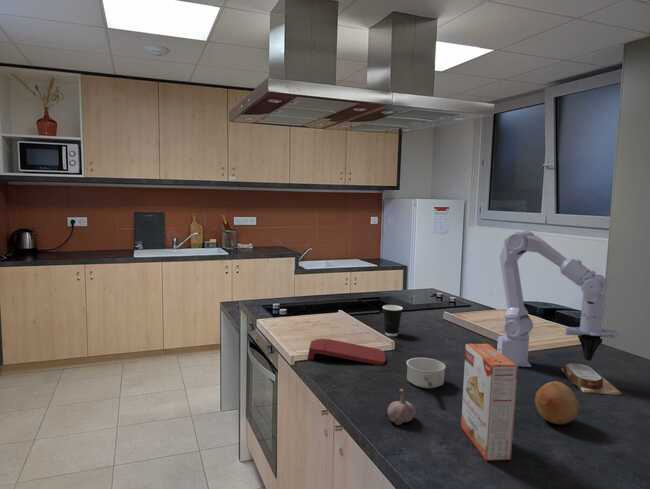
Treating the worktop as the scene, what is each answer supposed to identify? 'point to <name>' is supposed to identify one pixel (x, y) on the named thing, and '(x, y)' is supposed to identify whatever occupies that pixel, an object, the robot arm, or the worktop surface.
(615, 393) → the oak board
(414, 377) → the white ceramic ramekin
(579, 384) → the tin
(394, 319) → the dixie cup
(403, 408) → the garlic bulb
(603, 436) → the worktop surface
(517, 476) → the worktop surface
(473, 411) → the cracker box
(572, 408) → the onion
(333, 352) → the red flat block
